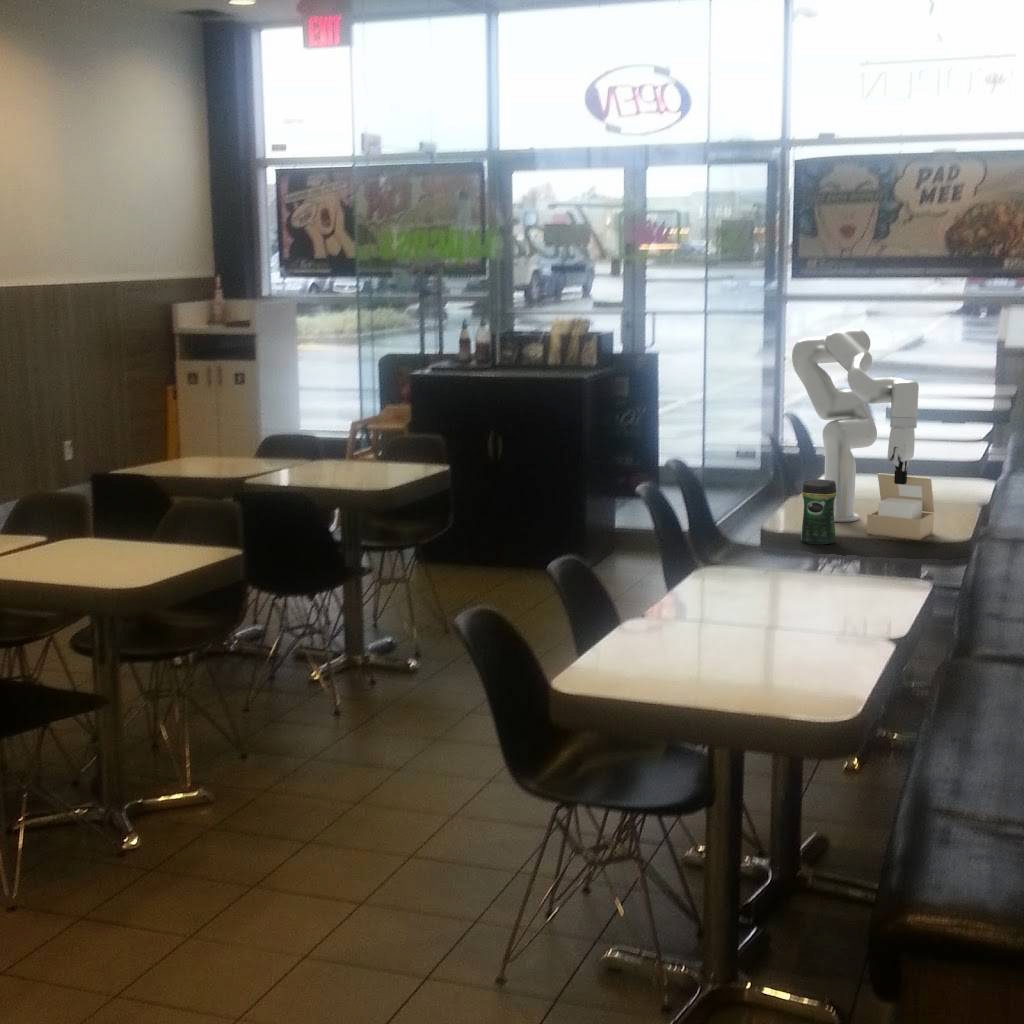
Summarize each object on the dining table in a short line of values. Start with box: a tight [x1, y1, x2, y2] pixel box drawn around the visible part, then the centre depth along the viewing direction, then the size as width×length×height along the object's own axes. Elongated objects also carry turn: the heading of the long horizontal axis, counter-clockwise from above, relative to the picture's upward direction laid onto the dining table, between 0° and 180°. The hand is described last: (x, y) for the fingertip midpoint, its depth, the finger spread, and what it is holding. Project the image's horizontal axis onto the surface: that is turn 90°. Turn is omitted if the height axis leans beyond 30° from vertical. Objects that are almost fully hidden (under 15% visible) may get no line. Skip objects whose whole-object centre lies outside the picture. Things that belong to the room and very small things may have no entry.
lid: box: [877, 472, 935, 513], centre depth 401 cm, size 16×12×1 cm
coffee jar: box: [800, 478, 837, 545], centre depth 388 cm, size 10×8×19 cm
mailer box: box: [866, 497, 935, 541], centre depth 399 cm, size 16×12×10 cm
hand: (900, 483), depth 396 cm, fingers closed
